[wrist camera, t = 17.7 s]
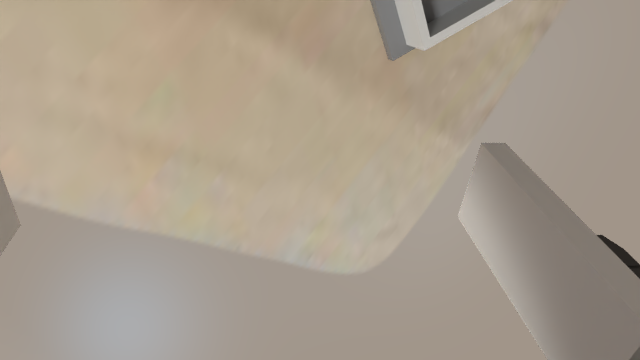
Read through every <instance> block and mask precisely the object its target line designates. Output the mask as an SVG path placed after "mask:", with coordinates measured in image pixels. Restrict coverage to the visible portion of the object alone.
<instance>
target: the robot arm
mask: <svg viewBox="0 0 640 360" xmlns="http://www.w3.org/2000/svg"><path fill="white" fill-rule="evenodd" d="M458 218H459V220H460V221H461V223H462V224H463V226H464V228H465V229H466V230H467V232H468V234H469V236H470V237H471V239H472V240H473V242H474V244H475V245H476V247H477V248H478V250H479V251H480V253H481V255H482V256H483V258H484V259H485V261H486V263H487V264H488V266H489V267H490V269H491V271H492V272H493V274H494V275H495V277H496V279H497V280H498V282H499V283H500V285H501V287H502V288H503V290H504V291H505V293H506V294H507V296H508V298H509V299H510V301H511V303H512V304H513V306H514V307H515V309H516V310H517V312H518V314H519V315H520V317H521V318H522V320H523V322H524V323H525V325H526V326H527V328H528V330H529V331H530V333H531V334H532V336H533V338H534V339H535V341H536V342H537V344H538V346H539V347H540V349H541V350H542V352H543V353H544V355H545V357H546V358H547V360H640V265H639V263H637V261H635V260H634V259H633V258H632V257H631V256H630V255H629V254H628V253H627V252H626V251H625V250H624V249H623V248H621V247H620V246H618V245H617V244H615V243H614V242H612V241H610V240H609V239H607V238H606V237H604V236H603V235H595V233H594V232H593V231H592V230H591V229H590V228H589V227H588V226H587V225H586V224H585V223H584V222H583V221H582V220H581V219H580V218H579V217H578V216H577V215H576V214H575V213H574V212H573V211H572V210H571V209H570V208H569V207H568V206H567V205H566V204H565V203H564V202H563V201H562V200H561V199H560V198H559V197H558V196H557V195H556V194H555V193H554V192H553V191H552V190H551V189H550V188H549V187H548V186H547V185H546V184H545V183H544V182H543V181H542V180H541V179H540V178H539V177H538V176H537V175H536V174H535V173H534V172H533V171H532V170H531V169H530V168H529V167H528V166H527V165H526V164H525V163H524V162H523V161H522V159H520V158H519V157H518V156H517V154H515V152H514V151H513V150H512V149H510V147H509V146H508V145H507V144H506V143H481V145H480V148H479V152H478V155H477V158H476V161H475V164H474V167H473V170H472V174H471V177H470V180H469V183H468V186H467V189H466V193H465V196H464V198H463V202H462V204H461V207H460V211H459V214H458ZM19 227H20V222H19V220H18V217H17V214H16V212H15V209H14V206H13V204H12V201H11V198H10V195H9V193H8V190H7V187H6V185H5V182H4V179H3V177H2V174H1V171H0V255H1V254H2V252H3V251H4V249H5V248H6V246H7V245H8V243H9V242H10V240H11V239H12V237H13V236H14V234H15V233H16V231H17V230H18V228H19Z"/></svg>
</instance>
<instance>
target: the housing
mask: <svg viewBox="0 0 640 360" xmlns="http://www.w3.org/2000/svg"><path fill="white" fill-rule="evenodd" d="M511 1H513V0H371V4H372V7H373V10H374V13H375V17H376V20H377V23H378V26H379V30H380V33H381V36H382V39H383V43H384V46H385V49H386V52H387V56H388V59H390V60H392V61H394V60H395V59H397V58H399V57H401V56H402V55H404V54H406V53H408V52H409V51H411V50H413V49H415V48H418V49H421V50H424V51H425V50H427V49H428V48H430V47H432V46H434V45H436V44H437V43H439V42H441V41H443V40H444V39H446V38H448V37H450V36H451V35H453V34H455V33H457V32H458V31H460V30H462V29H464V28H465V27H467V26H469V25H471V24H472V23H474V22H476V21H478V20H479V19H481V18H483V17H485V16H486V15H488V14H490V13H492V12H493V11H495V10H497V9H499V8H500V7H502V6H504V5H506V4H507V3H509V2H511Z"/></svg>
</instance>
